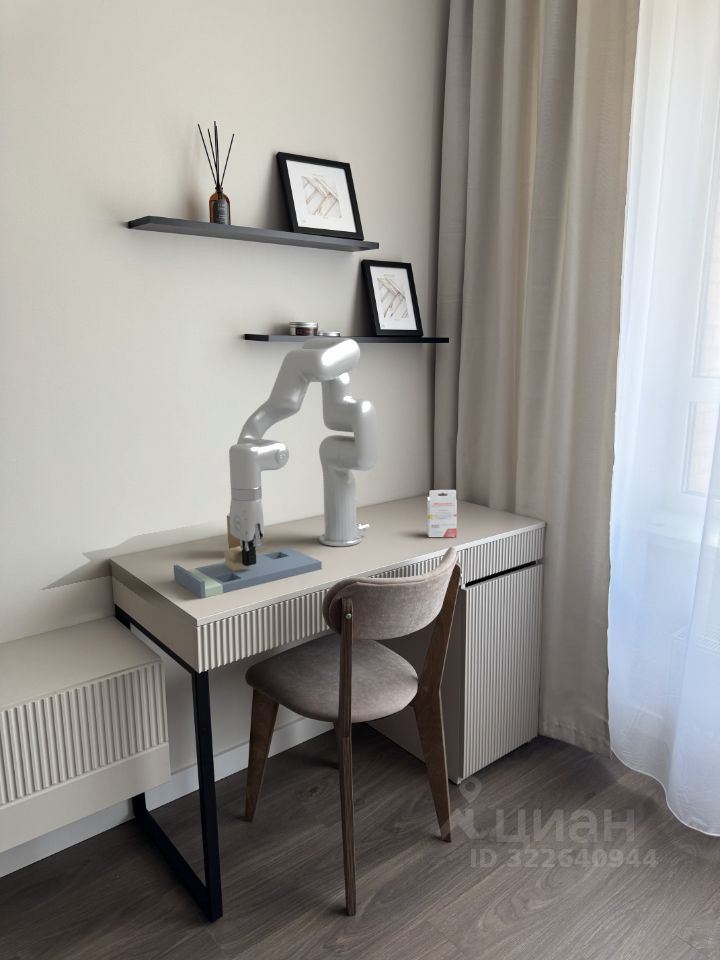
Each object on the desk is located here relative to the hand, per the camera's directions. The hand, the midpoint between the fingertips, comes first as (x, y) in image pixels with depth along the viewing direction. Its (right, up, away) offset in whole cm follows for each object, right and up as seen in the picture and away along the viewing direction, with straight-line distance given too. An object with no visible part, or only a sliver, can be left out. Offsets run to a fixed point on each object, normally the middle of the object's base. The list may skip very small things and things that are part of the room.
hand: (249, 564), depth 181 cm
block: (-4, -1, +3) cm, 5 cm away
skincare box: (-6, 0, +20) cm, 21 cm away
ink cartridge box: (+53, +4, +36) cm, 64 cm away
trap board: (0, -3, +3) cm, 4 cm away
